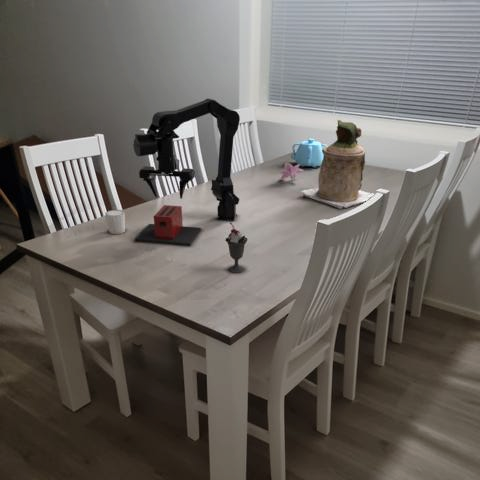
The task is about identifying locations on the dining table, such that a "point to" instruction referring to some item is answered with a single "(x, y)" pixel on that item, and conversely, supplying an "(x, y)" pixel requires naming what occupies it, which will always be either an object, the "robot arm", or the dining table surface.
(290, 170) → the lily
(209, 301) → the dining table surface
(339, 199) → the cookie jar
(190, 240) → the placemat
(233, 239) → the sundae
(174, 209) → the toaster
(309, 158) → the decorative pot
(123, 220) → the shot glass
